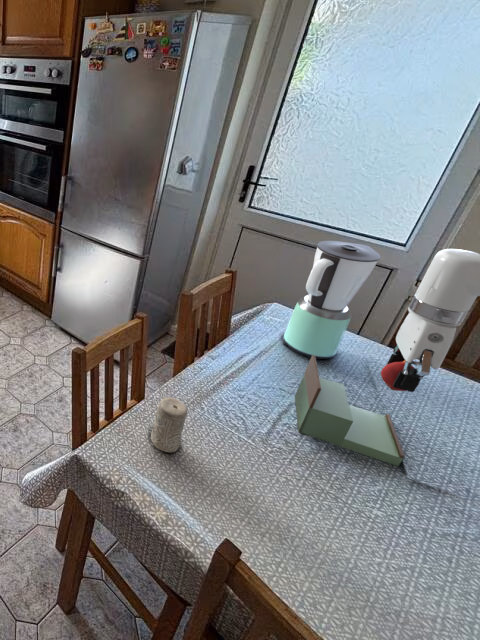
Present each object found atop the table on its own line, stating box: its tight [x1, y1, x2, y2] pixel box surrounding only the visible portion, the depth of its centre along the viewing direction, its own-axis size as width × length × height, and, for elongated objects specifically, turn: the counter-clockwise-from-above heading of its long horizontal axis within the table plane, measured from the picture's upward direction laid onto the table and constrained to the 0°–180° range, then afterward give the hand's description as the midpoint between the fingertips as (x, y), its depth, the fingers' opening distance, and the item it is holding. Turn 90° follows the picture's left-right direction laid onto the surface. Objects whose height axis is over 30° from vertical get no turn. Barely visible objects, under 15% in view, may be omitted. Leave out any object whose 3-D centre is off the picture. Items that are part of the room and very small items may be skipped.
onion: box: [380, 360, 420, 392], centre depth 89 cm, size 6×6×8 cm
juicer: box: [282, 240, 381, 361], centre depth 121 cm, size 19×13×35 cm
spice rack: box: [294, 355, 405, 467], centre depth 98 cm, size 18×14×14 cm
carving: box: [150, 396, 188, 453], centre depth 95 cm, size 6×8×12 cm
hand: (398, 379), depth 90 cm, fingers closed on onion, 5 cm apart
